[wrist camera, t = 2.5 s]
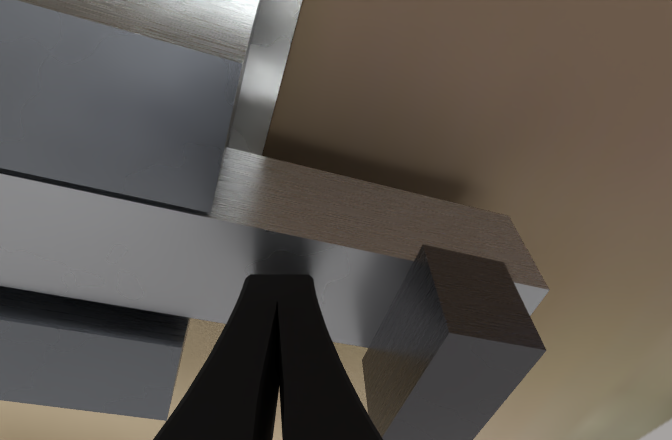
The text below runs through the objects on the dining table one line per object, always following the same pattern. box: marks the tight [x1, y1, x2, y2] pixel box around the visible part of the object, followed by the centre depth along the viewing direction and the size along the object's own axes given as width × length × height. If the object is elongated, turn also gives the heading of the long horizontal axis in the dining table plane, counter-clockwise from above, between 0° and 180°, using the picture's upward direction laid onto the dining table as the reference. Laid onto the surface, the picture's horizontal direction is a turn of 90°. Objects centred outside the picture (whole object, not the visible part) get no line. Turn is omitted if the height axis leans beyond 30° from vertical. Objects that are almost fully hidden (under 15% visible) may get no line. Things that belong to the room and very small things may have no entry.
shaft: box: [0, 147, 549, 440], centre depth 11 cm, size 19×4×6 cm, turn 73°
